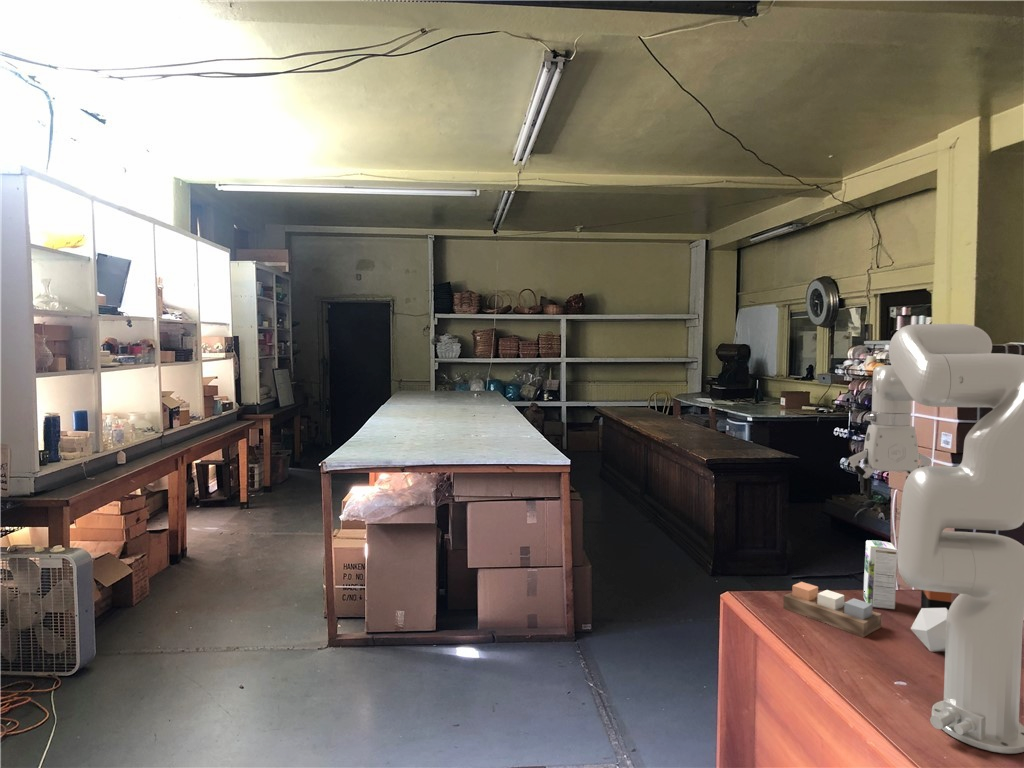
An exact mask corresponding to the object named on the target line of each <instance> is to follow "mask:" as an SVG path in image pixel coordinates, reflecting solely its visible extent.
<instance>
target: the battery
mask: <svg viewBox="0 0 1024 768" xmlns="http://www.w3.org/2000/svg"><path fill="white" fill-rule="evenodd" d="M920 591H921V592H920V593H921V595H920V597H921V598H920V600H921V601H920V609H921V608H947V609H948V610H949V608H950V606H951V604H952V601H953V600H952V597H953V595H952V594H953V593H946V592H934V591H926V590H920Z"/></svg>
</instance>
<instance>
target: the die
mask: <svg viewBox="0 0 1024 768" xmlns="http://www.w3.org/2000/svg"><path fill="white" fill-rule="evenodd" d="M947 613H948V609H947V608H921V607H920V610H919V612H918V614H917V616H916V618H915V620H914V621H913V623H912V625H911V627H910V630H911V631H912V632H913V634H915V636H916V637H917V638H918V639H919V640H920V641H921V642H922V644H923V645H924V646H925V647H926V648H927V649H928V650H929V651H930V652H945V645H946V619H947Z"/></svg>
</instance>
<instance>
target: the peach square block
mask: <svg viewBox="0 0 1024 768" xmlns="http://www.w3.org/2000/svg"><path fill="white" fill-rule="evenodd" d="M791 588H792V590H791V591H792V596H795V597H798V598H801V599H804V600H807V601H812V600H814V599H816V598H818V593H819V586H817V585H814V584H811V583H806V582H803V581H799V582H798V583H795V584H793V585H792V587H791Z"/></svg>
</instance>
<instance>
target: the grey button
mask: <svg viewBox="0 0 1024 768" xmlns="http://www.w3.org/2000/svg"><path fill="white" fill-rule="evenodd" d="M844 602H845V605H844V613H845V614H847V615H850V616H853V617H856V618H859V619H862V620H866V619H867V618H869V617H871V616H872V611H873V608H874V607H873V604H870V603H867V602H866V601H865V600H861V599H857V598H854V597H853V598H851V599H849V600H847V601H844Z"/></svg>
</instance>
